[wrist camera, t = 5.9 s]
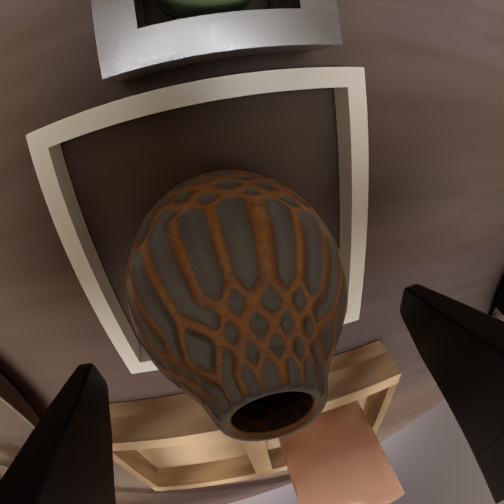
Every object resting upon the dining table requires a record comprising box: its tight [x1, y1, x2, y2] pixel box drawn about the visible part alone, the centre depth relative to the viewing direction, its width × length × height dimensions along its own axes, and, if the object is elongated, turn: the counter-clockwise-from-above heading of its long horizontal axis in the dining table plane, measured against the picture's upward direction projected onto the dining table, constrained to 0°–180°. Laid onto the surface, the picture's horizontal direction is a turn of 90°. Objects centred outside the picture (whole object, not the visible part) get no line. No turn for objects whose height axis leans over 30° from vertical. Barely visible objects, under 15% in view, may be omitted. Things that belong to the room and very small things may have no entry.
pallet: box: [109, 340, 401, 491], centre depth 20 cm, size 20×11×3 cm, turn 97°
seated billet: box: [278, 400, 404, 504], centre depth 17 cm, size 7×7×9 cm
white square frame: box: [26, 67, 369, 374], centre depth 13 cm, size 13×13×1 cm
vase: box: [126, 170, 347, 441], centre depth 10 cm, size 7×7×9 cm
